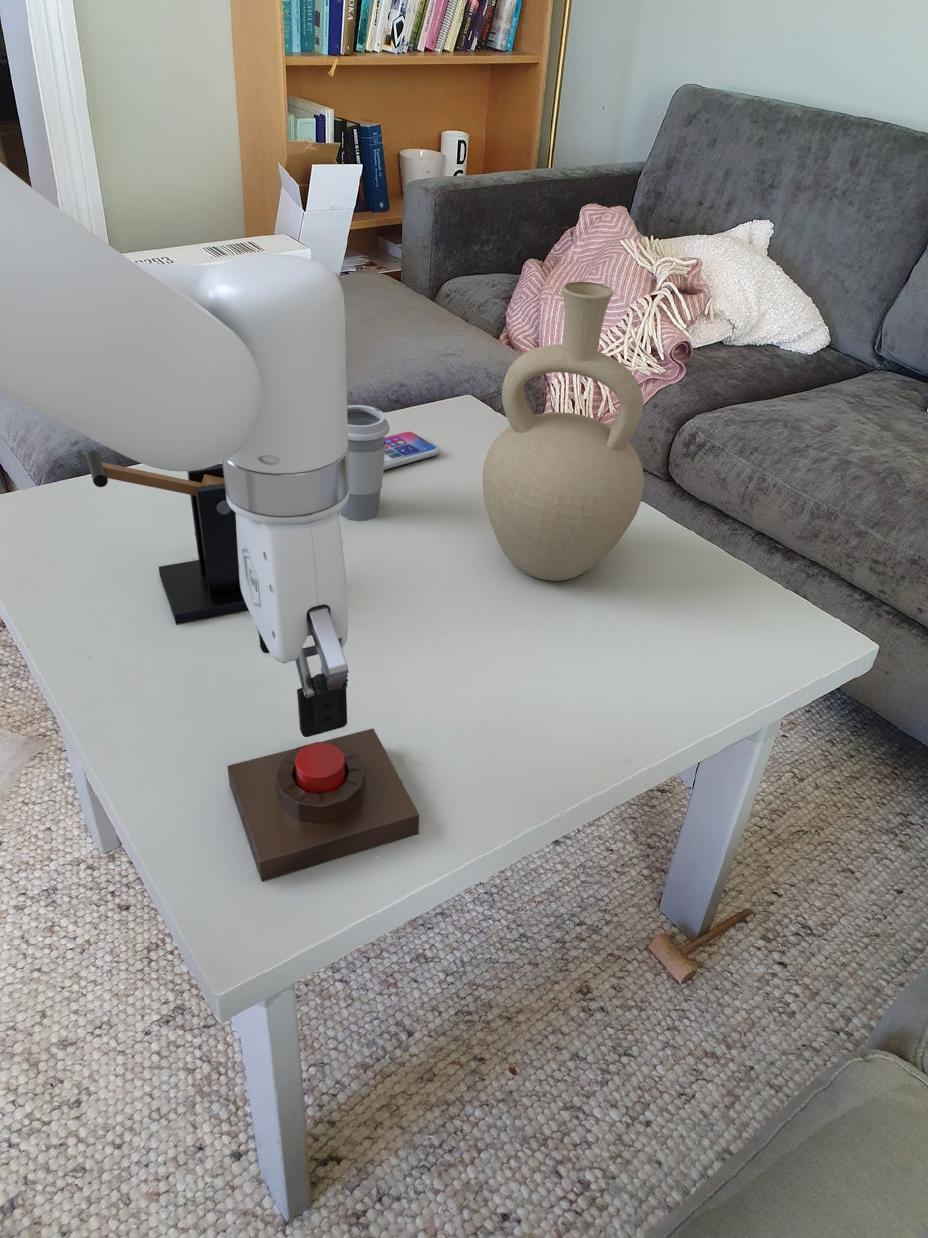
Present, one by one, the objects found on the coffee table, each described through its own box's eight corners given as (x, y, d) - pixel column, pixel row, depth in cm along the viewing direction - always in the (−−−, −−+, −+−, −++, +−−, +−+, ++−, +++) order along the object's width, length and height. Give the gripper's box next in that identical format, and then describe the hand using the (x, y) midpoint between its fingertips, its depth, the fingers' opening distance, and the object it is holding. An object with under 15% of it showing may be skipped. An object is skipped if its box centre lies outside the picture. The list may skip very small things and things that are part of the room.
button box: (261, 882, 65) (257, 845, 62) (229, 785, 72) (224, 748, 70) (418, 834, 69) (420, 797, 67) (373, 747, 76) (373, 711, 74)
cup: (400, 514, 108) (402, 419, 101) (354, 531, 104) (353, 433, 97) (363, 491, 112) (363, 398, 105) (318, 506, 108) (315, 411, 101)
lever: (90, 491, 79) (96, 467, 78) (83, 466, 83) (89, 442, 82) (233, 519, 87) (241, 497, 86) (222, 495, 90) (229, 473, 89)
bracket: (176, 624, 88) (158, 508, 81) (159, 576, 95) (141, 464, 87) (297, 601, 93) (291, 488, 85) (273, 556, 99) (266, 447, 92)
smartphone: (314, 454, 117) (410, 428, 125) (315, 461, 118) (410, 435, 126) (345, 476, 113) (442, 448, 120) (345, 483, 113) (442, 455, 121)
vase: (459, 591, 96) (480, 302, 78) (493, 516, 109) (517, 254, 91) (618, 621, 93) (676, 329, 76) (632, 540, 106) (685, 276, 89)
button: (304, 799, 66) (303, 782, 65) (290, 766, 69) (289, 749, 68) (351, 786, 68) (351, 769, 67) (336, 754, 70) (335, 737, 69)
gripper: (193, 425, 61) (220, 630, 71) (266, 557, 48) (286, 783, 58) (302, 409, 63) (313, 609, 74) (398, 530, 51) (395, 750, 61)
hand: (301, 686), depth 66 cm, fingers open, 9 cm apart
